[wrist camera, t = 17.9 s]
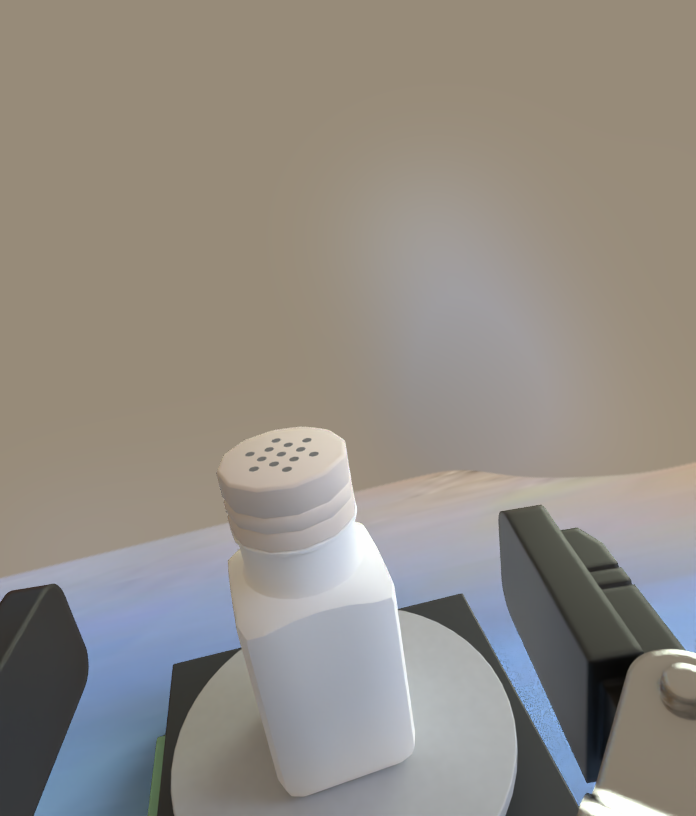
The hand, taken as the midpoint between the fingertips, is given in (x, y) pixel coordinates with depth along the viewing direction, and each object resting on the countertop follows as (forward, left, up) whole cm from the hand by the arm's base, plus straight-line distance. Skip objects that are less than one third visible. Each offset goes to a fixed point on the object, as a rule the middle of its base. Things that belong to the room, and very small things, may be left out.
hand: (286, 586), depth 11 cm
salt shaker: (0, -4, -9) cm, 10 cm away
